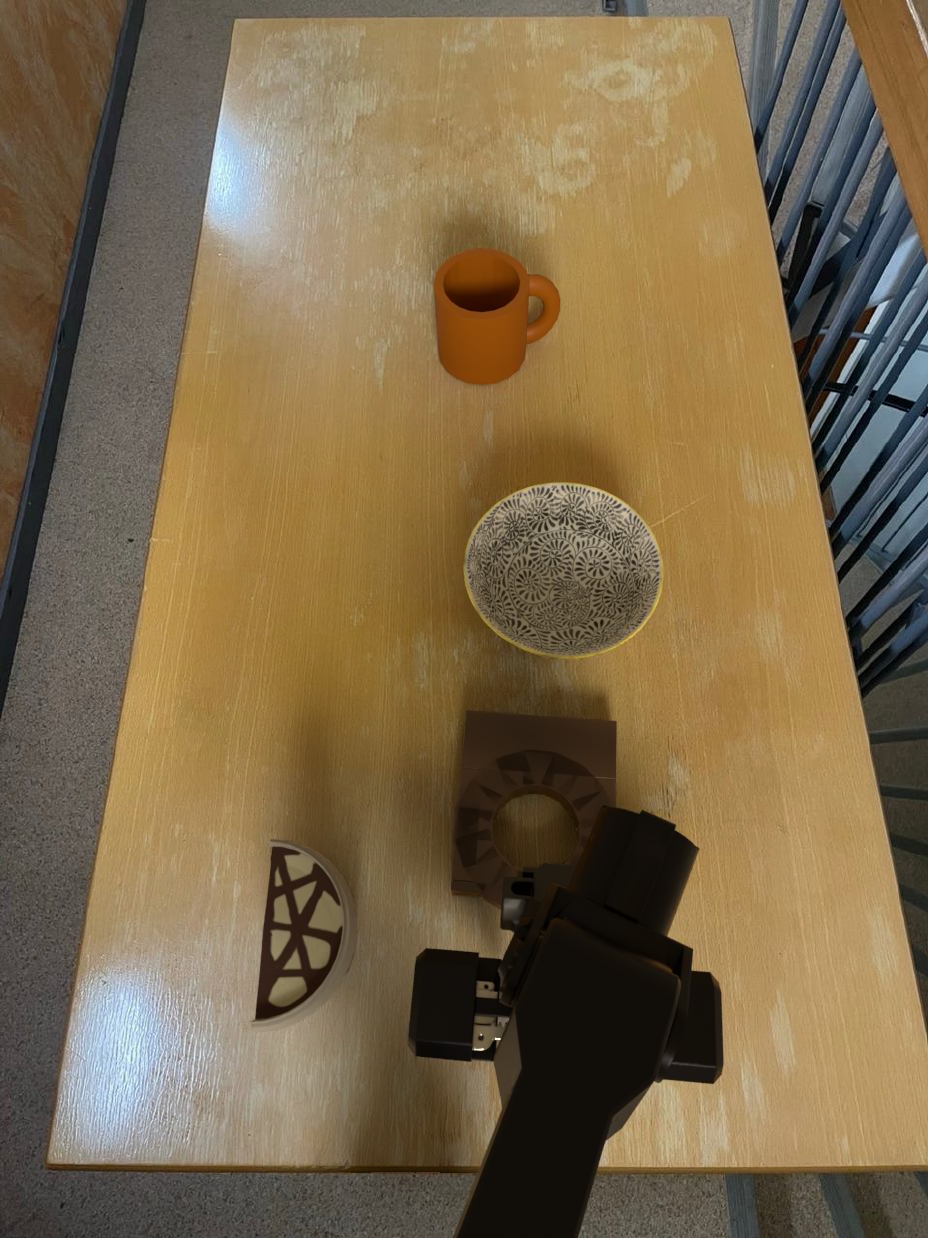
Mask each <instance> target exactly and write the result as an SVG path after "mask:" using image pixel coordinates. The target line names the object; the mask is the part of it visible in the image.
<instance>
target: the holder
mask: <svg viewBox="0 0 928 1238" xmlns="http://www.w3.org/2000/svg"><path fill="white" fill-rule="evenodd" d="M617 723H618V721H617V720H609V719H608V720H606V719H595V718H594V719H590V718H580V717H579V718H576V717H565V716H563V717H562V716H549V715H535V714H519V713H507V712H506V713H505V712H492V711H477V710H466V711H465V720H464V729H463V730H464V732H463V744H462V754H461V757H462V758H461V768H460V776H459V777H460V779H459V789H458V790H459V791H458V793H459V794H458V801H457V803H456V805H455V809H454V810H455V811H454V812H455V813H454V822H453V833H452V841H453V848H454V850H453V860H452V862H453V863H452V873H451V885H450V891H451V895H452V896H460V897H470V898H471V897H472V898H482V900H483V901H484V902H486V903H488V904H490V905H491V906H493V907H496V908H497V909H499V910H501V903H502V887H503V878H504V877H505V876H509V877H517V873H518V871H522V872H523V869H520V868H518V867H516V866H514V865H512V864H510V863H509V862H508V861H507V860H506V858H505V857H504V856H503V855H502V853H500V851H499V850H498V848H497V844H496V841H495V839H494V835H493V833H494V823H495V821H496V819H497V818H498V815H499V814H500V812H501V809H502V808H504V807H505V806H507V804H508V803H510V802H511V801H512V800H513V799H516V798H519V797H522V796H525V795H543V796H545V797H548V798H550V799H553V800H554V801H556V802H558V803H559V804H560V805H561V806H562V807H563V808H564V809H565V810H566V811H567V812H568V814H569V815H570V818H571V820H572V823H573V825H574V828H575V847H574V850H573V851H572V853H571V855H570V857H568V859H566V860H565V861H564V862H563V863H562V864H569V865H577V864H578V862H579V859H580V857H581V854H582V852H583V850H584V847H585V845H586V842H587V840H588V838H589V835H590V833H591V830H592V828H593V826H594V823H595V821H596V818H597V816H598V814H599V811H600V809H601V807H602V806H603V805H606V806H609V807H616V808H617V745H618V744H617V735H618V734H617V733H618V730H617V729H618V728H617V727H618V724H617ZM531 893H532V889H531Z"/></svg>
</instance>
